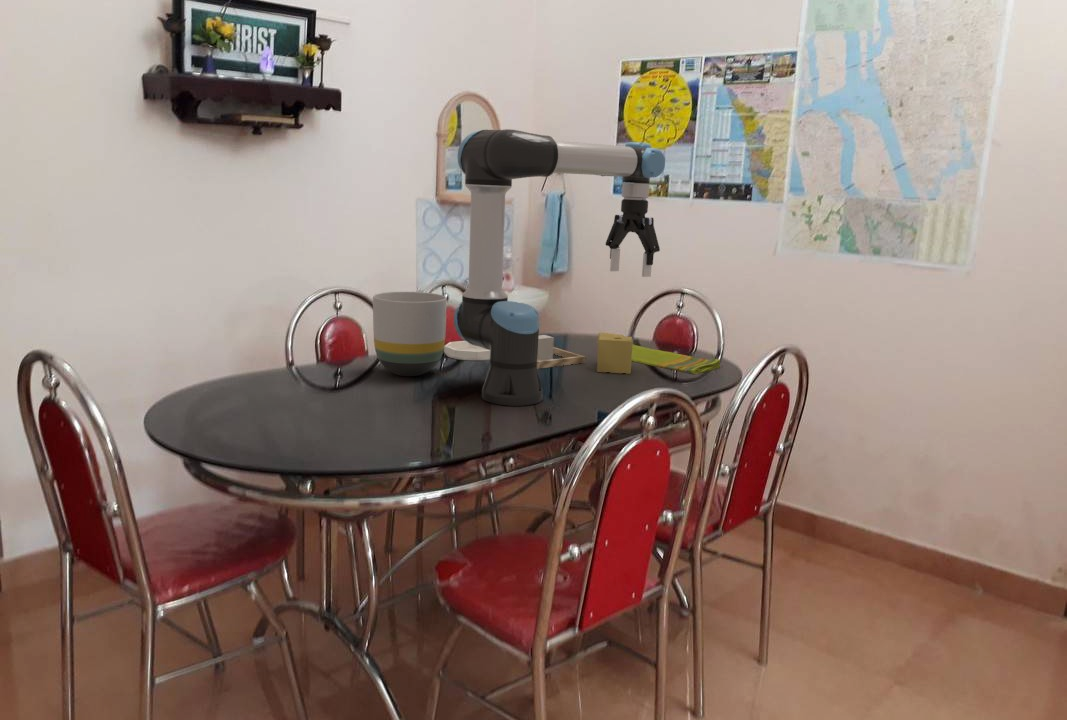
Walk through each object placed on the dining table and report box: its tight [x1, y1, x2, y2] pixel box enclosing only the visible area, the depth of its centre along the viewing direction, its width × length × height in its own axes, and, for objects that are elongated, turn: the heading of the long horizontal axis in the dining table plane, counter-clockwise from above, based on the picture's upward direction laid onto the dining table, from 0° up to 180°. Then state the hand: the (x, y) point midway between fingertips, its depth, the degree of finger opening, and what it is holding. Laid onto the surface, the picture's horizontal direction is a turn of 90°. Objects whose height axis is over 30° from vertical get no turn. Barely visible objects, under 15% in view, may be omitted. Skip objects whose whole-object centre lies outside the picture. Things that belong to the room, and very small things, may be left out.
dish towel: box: [631, 344, 721, 375], centre depth 259 cm, size 15×36×3 cm, turn 49°
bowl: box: [443, 340, 490, 362], centre depth 256 cm, size 16×16×3 cm
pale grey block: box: [537, 334, 555, 361], centre depth 254 cm, size 6×4×7 cm
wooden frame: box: [537, 346, 586, 370], centre depth 254 cm, size 18×20×2 cm
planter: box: [372, 291, 448, 377], centre depth 226 cm, size 20×20×21 cm
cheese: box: [596, 332, 634, 375], centre depth 244 cm, size 10×11×10 cm
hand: (630, 273), depth 241 cm, fingers open, 13 cm apart
